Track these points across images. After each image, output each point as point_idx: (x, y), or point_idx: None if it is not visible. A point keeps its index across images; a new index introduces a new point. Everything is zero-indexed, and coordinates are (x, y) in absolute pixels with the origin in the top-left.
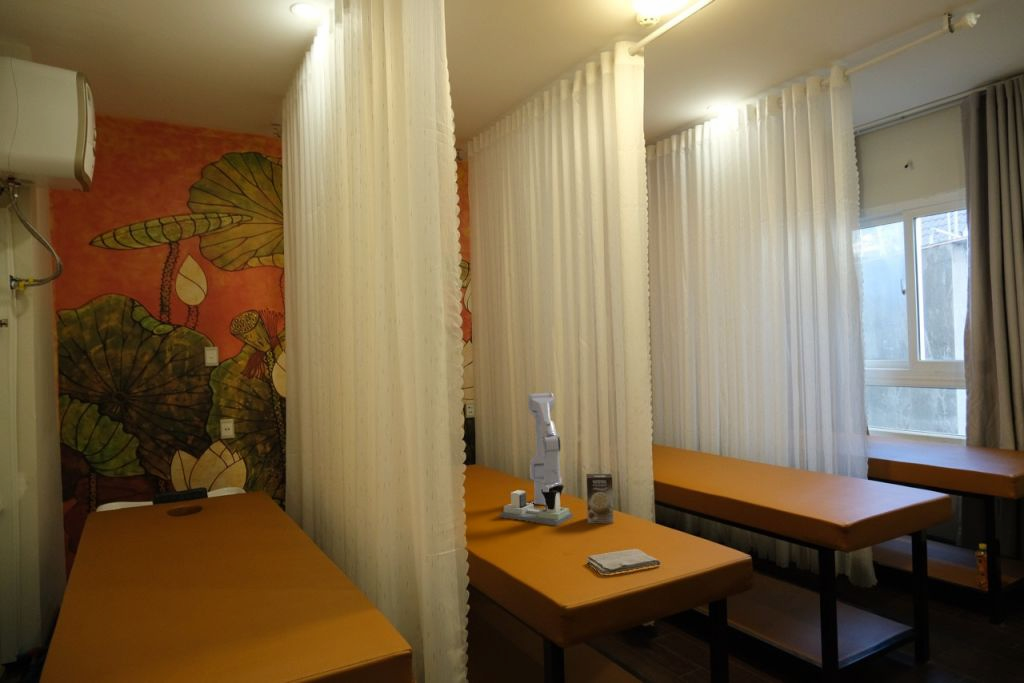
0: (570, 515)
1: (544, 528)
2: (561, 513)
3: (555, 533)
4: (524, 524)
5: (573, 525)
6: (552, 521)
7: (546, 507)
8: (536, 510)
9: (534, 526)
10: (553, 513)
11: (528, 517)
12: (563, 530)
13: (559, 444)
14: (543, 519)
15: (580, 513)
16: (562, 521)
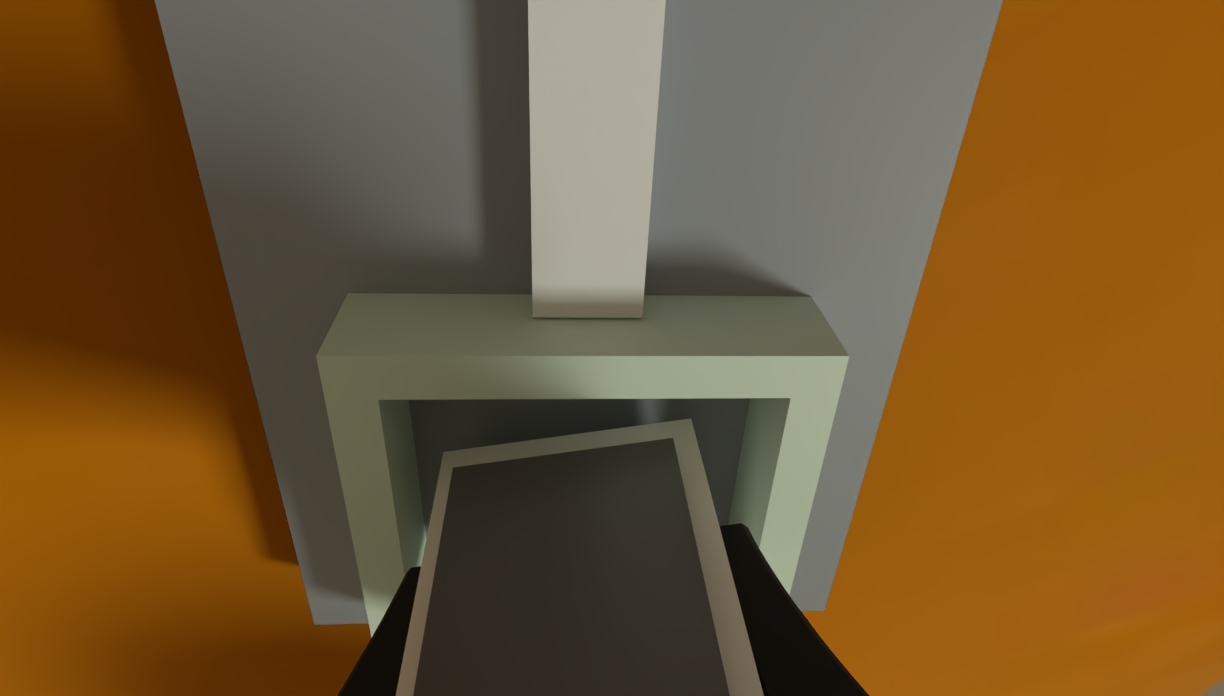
0: None
1: (118, 503)
2: None
3: (65, 675)
4: (12, 109)
5: None
6: (305, 568)
7: (448, 532)
8: (606, 115)
9: (74, 339)
10: (372, 633)
11: (186, 111)
12: (229, 689)
13: None
14: (276, 440)
15: (992, 567)
16: None
